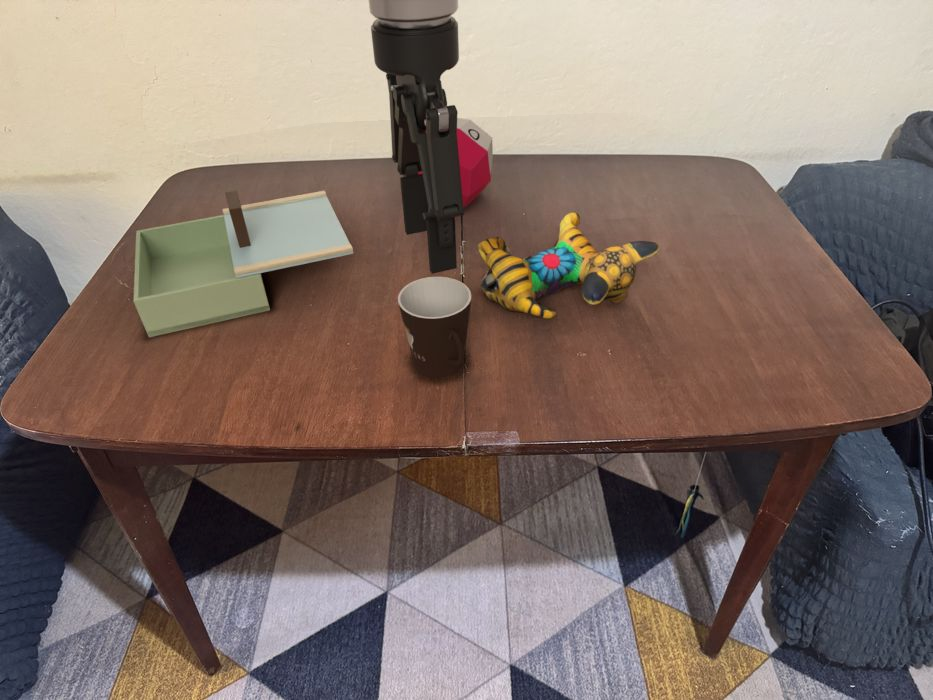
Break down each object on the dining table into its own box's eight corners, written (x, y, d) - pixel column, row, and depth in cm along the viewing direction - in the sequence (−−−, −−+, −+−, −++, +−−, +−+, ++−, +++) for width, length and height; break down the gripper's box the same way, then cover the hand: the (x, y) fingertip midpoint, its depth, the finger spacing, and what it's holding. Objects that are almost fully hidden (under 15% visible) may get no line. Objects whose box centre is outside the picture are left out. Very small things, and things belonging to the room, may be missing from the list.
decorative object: (398, 136, 102) (437, 87, 110) (391, 202, 115) (426, 154, 123) (483, 174, 101) (516, 122, 109) (466, 237, 114) (496, 185, 122)
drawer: (236, 278, 86) (223, 234, 82) (223, 214, 101) (212, 174, 97) (353, 253, 91) (347, 211, 86) (325, 196, 105) (318, 157, 101)
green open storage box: (148, 337, 87) (133, 301, 83) (149, 264, 101) (136, 230, 98) (270, 310, 91) (260, 274, 87) (253, 243, 106) (244, 210, 102)
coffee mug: (408, 340, 85) (402, 276, 78) (473, 340, 84) (472, 276, 78) (398, 401, 76) (389, 334, 69) (470, 402, 75) (469, 335, 69)
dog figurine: (479, 315, 96) (561, 369, 83) (459, 247, 88) (546, 296, 75) (576, 249, 102) (665, 290, 90) (566, 180, 94) (662, 215, 82)
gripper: (344, -1, 61) (371, 214, 76) (407, 52, 46) (427, 309, 61) (418, -9, 63) (431, 202, 78) (503, 40, 48) (500, 291, 63)
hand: (429, 249), depth 69 cm, fingers open, 8 cm apart
